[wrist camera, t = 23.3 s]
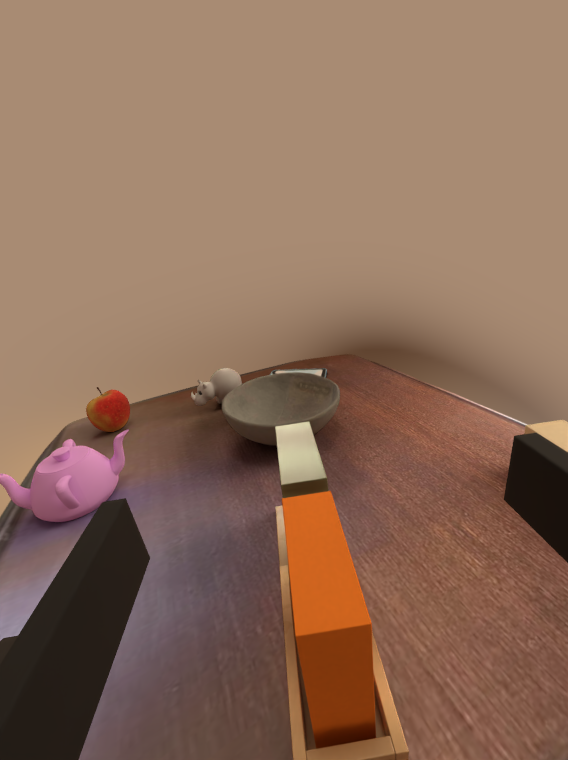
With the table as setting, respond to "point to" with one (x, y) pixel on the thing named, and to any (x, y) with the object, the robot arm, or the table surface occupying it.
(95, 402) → the apple
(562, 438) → the pad riser
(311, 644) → the orange rectangular block
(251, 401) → the bowl
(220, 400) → the round bodied animal figurine
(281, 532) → the pad holder
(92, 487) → the teapot
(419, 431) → the table surface
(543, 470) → the robot arm
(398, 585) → the table surface
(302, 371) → the smartphone
